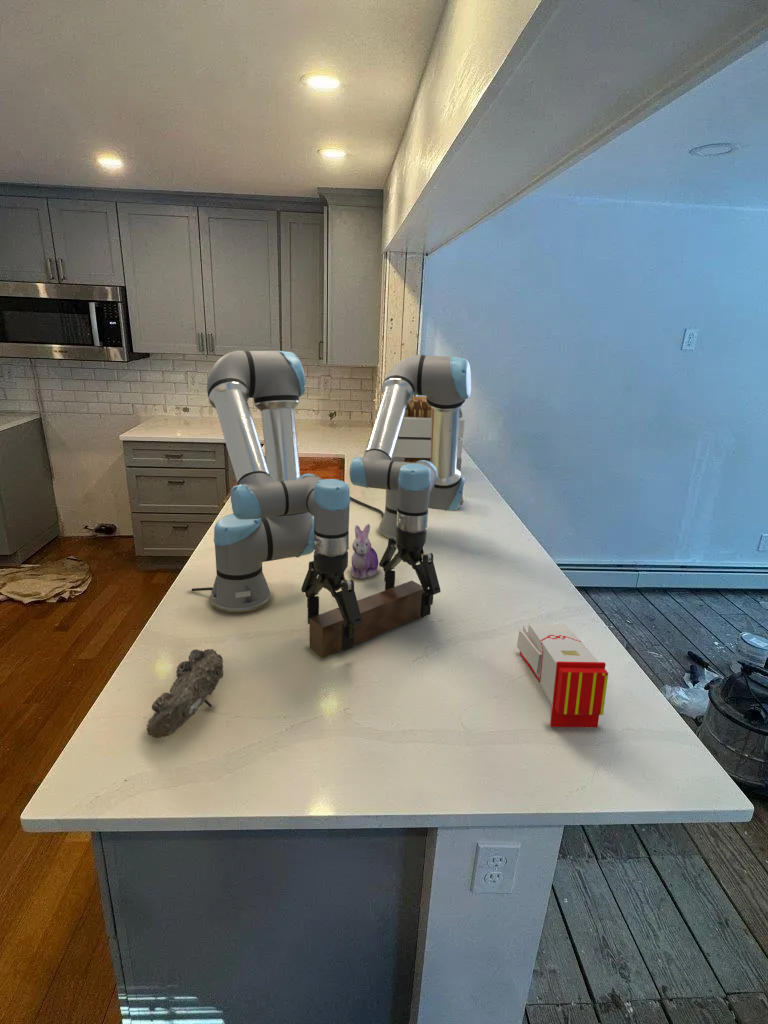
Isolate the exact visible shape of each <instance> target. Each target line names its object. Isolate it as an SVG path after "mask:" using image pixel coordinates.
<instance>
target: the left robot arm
mask: <svg viewBox="0 0 768 1024" xmlns="http://www.w3.org/2000/svg"><path fill="white" fill-rule="evenodd" d="M206 381H207V382H206V393H207V397H208V402H209V404H210V405H211V406H212V408H214V409H215V411H216V414H217V417H218V421H219V424H220V428H221V431H222V435H223V438H224V442H225V446H226V450H227V454H228V457H229V460H230V464H231V467H232V471H233V474H234V478H235V481H236V485H234V486H232V487H231V489H230V503H231V510H232V513H229V514H227V515H224V516H223V517H221V518H220V519H218V520H217V521H216V522H215V525H214V528H213V529H214V531H213V543H214V554H215V556H214V557H215V568H216V570H215V571H216V575H215V579H214V583H213V586H212V587H195V588H191V592H200V591H201V592H203V591H211V593H210V603H211V606H212V607H213V608H214V609H216V610H217V611H220V612H222V613H226V614H246V613H247V614H248V613H251V612H254V611H258V610H260V609H262V608H264V607H265V606H266V605H268V603H269V602H270V600H271V590H270V587H269V584H268V582H267V580H266V576H265V575H264V572H263V563H265V562H272V561H277V560H278V561H279V560H285V559H290V558H301V557H303V556H306V555H307V556H308V555H310V554H312V553H313V560H311V561H309V562H308V569H307V572H306V575H305V577H304V580H303V582H302V585H301V588H300V591H301V592H302V593H305V598H306V607H307V625H309V626H310V622H309V618H311V617H314V616H317V615H320V597H319V596H318V595H319V593H320V592H321V590H322V589H323V588H324V589H325V590H327V591H328V592H329V593H330V594H331V597H332V598H334V599H335V601H336V605H337V608H339V609H340V612H341V615H342V617H343V620H344V622H345V623H343V624H342V651H343V652H345V651H347V650H349V649H352V648H354V646H355V645H354V636H355V626H357V625H359V624H362V618H361V614H360V610H359V606H358V602H357V601H358V600H357V596H356V591H355V581H354V580H353V579H351V578H350V579H346V577H345V572H346V570H347V568H348V566H349V547H350V542H349V541H350V531H349V530H350V505H351V500H350V497H351V495H350V486H349V484H348V483H347V482H346V481H344V480H340V479H339V478H325V479H323V478H322V477H320V476H317V475H316V474H314V473H304V474H301V467H300V458H299V446H298V437H297V435H298V434H297V425H296V415H295V409H296V407H297V406H298V405H299V404H300V398H301V397H302V396H304V394H305V391H306V375H305V370H304V367H303V364H302V362H301V360H300V359H299V357H298V356H297V354H295V353H294V352H292V351H284V350H279V349H278V350H234V351H230V352H228V353H226V354H224V355H223V356H221V357H220V358H219V359H218V360H217V361H216V362H215V363H214V364H213V366H212V368H211V370H210V371H209V374H208V378H207V380H206ZM249 399H253V404H254V407H255V408H256V409H258V410H259V411H260V413H261V416H260V417H261V424H262V425H261V426H262V433H263V444H264V450H263V447H262V443H261V441H260V438H259V437H260V436H259V434H258V432H257V428H256V425H255V422H254V419H253V415H252V412H251V409H250V406H249V403H248V401H249Z"/></svg>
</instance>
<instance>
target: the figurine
mask: <svg viewBox="0 0 768 1024" xmlns="http://www.w3.org/2000/svg"><path fill="white" fill-rule="evenodd" d="M370 530H371V525H370V523H367V524H366V525H365V527H364V528H363V530H362V529H361V528H360V526H359V525H358V524H356V525H355V526H354V535H355V536H354V539H353V542H352V544H351V545H352V546H351V547H352V551H353V554H352V555H351V568H350V573H351V576H352V577H353V578H356V579H361V580H362V579H366V578H371V577H373V576H374V575H376V574H378V568H379V563H380V560H379V556H378V553H377V551H376V550H375V549H374V548H373V547H372V543H371V540H370V539H369V534H370Z"/></svg>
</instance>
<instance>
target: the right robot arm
mask: <svg viewBox="0 0 768 1024" xmlns="http://www.w3.org/2000/svg"><path fill="white" fill-rule="evenodd" d="M471 373H472V372H471V365H470V362H469V360H468V359H467V358H464V357H457V356H454V355H452V356H443V355H440V356H439V355H429V354H428V355H425V354H413V355H410V356H407V357H405V358H403V359H401V360H400V361H398V362H397V363H396V364H394V366H393V367H391V369H389V371H388V372H387V373H386V376H385V377H384V380H383V382H382V385H381V389H380V390H381V394H382V396H381V400H380V402H379V405H378V409H377V412H376V415H375V419H374V421H373V425H372V428H371V430H370V434H369V437H368V440H367V443H366V447H365V449H364V452H363V456H355V457H354V458H353V459H352V460H351V462H350V466H349V480H350V483H351V484H352V485H353V486H357V487H361V488H367V489H368V488H370V489H381V490H385V504H384V505H385V507H384V508H385V509H384V511H383V510H381V509H379V508H377V507H374V506H372V505H370V504H367V503H365V502H363V501H360V500H358V499H356V498H353V497H352V496H350V501H352V502H355V503H357V504H359V505H361V506H363V507H366V508H367V509H370V510H373V511H376V512H378V513H380V515H381V518H382V519H381V522H379V526H378V533H379V534H380V535H381V536H382V537H385V538H387V539H388V542H387V546H386V548H385V551H384V552H383V555H382V557H381V559H380V560H379V563H378V567H379V568H382V569H383V572H384V575H383V577H384V578H383V579H384V580H383V581H384V591H385V590H388V589H390V588H393V587H396V585H395V584H396V567H397V566H398V565H399V564H400V563H401V562H403V563H407V564H408V565H409V566H411V569H413V570H414V571H415V573H416V576H417V578H418V580H419V582H420V585H421V586H422V587H423V590H424V592H423V593H422V600H421V613H420V616H421V617H420V618H425V617H427V616H429V615H431V610H432V609H431V608H432V605H433V603H434V595H437V594H439V593H441V592H442V591H441V585H440V581H439V579H438V575H437V570H436V567H435V562H434V553H433V552H430V553H429V552H428V553H427V552H425V550H424V547H425V545H426V543H427V535H428V534H427V533H428V530H427V528H428V517H429V509H430V510H431V509H432V510H440V511H445V512H449V511H451V512H456V511H457V510H459V508H460V506H461V505H460V501H461V496H462V497H463V495H462V493H464V492H463V491H464V486H465V482H466V478H465V477H462V474H460V471H459V470H458V469H457V449H458V429H459V409H460V408H461V407H463V406H464V405H465V403H466V400H468V399H470V397H471V392H472V374H471ZM413 396H422V397H427V403H428V405H429V406H431V462H429V461H426V460H420V461H417V462H415V463H409V462H398V461H392V457H393V454H394V450H395V447H396V443H397V440H398V436H399V432H400V429H401V425H402V422H403V418H404V415H405V411H406V408H407V404H408V402H410V401H411V400H412V398H413ZM396 551H397V552H396Z"/></svg>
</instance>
